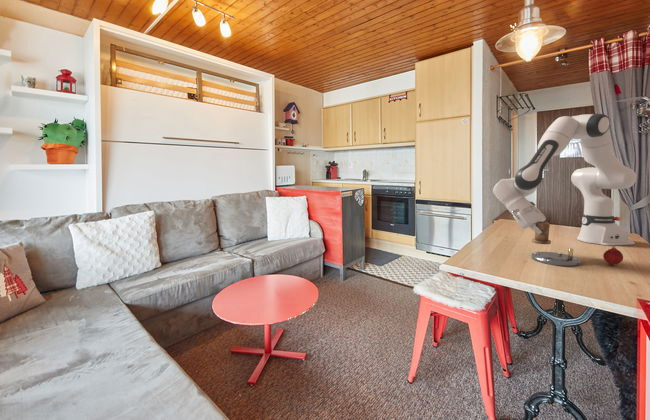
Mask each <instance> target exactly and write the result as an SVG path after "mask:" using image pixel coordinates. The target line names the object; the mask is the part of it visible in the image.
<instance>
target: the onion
mask: <svg viewBox="0 0 650 420" xmlns="http://www.w3.org/2000/svg"><path fill="white" fill-rule="evenodd" d="M602 255H603V259H604V261H605V263H607V264H608V265H610V266H612V267H613V266H615V265H618V264H620V263H622V261H623V260H624V255H623V253H622V252H621V250H618V249H617V248H616V246H615V245H612V247H611V248H609V249H607V250H606V251H604V252H603V254H602Z"/></svg>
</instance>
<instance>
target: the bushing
mask: <svg viewBox="0 0 650 420" xmlns="http://www.w3.org/2000/svg"><path fill="white" fill-rule="evenodd" d="M536 226H537V227H538V228H539V229H541V230H542V231H543V232H542V233H541V234H537V233H536V232H535V231H534V238H531V243H534V244H537V245H538V244H539V245H550V244H551V243H552V241H551V240H550V239H549V235H550V226H551V225H550V222H548V221H543V222H538V223H536Z"/></svg>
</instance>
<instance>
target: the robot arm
mask: <svg viewBox="0 0 650 420" xmlns="http://www.w3.org/2000/svg"><path fill="white" fill-rule="evenodd" d="M610 126H611V119H610V118H609V117H608V116H607V114H605V113H590V114H589V113H588V114H579V115H572V116H569V115H568V116H567V115H564V116H560V117H558V118H556V119H555V120H554V121H553V122H552V123H551V124H550V125H549V126H548V127H547V129H546V130H545V132H544V133H543V135H542V136H541V138H540V140H539V142H538V144H537V150H536V152H535V153H534V155H533V157H532V158H531V159H530V160H529V162H528V163H527V164H526V165H524V166H522V167H521V168H519V169H518V170H517V172H515V173H516V174H515V176H514V177H510V178H500V179H499V180H498V181H496V183H495V184H494V185H493V187H492V193H493V196H495V197H496V198H497V200H498V201H499V202H500V203H501V204H503V205H504V206H505V208H506V209H507V210H508V212H510V214H512V216H513V218H514V220H515V221H516V223H517V224H518V225H519V227H521V228H522V229H524V230H526V229H528V228H530V229H531V230H532V231H534V233H535V232H536V233H537V234H541V233H542V232H543V231H542V230H541V229H539V228H538V227H537V226H536V223H538V222H545V221H546V219H547V217H546V216H545V214H544V213H543V212H542V211H541V210H540V209H539V208H538V207H537V205H536V204H535V202H533V201H530V200H529V199H527V198H526V197H527V196H531V195H532V194H533V193H535V192H536V191H537V189H538V186H539V185H540V184H541V183H542V181H543V173H544V169H545V168H546V166H547V165H548V163H549V162H550V161H551V159H552V158H553V157H557V156H560V155H561V153H563V151H564V150H566V148H567V147H568V146H569V144H570V142H571V141H572V140H573V139H574V140H576V139H577V140H578V139H580V142H581V143H580V145H581V150H582V155H583V159H584V162H586V163H588V164H590V165H592V166H594V167H592V166H591V167H583V168H578V169H575V170H574V171H573V173H572V174H571V177H570V181H571V183H572V185H573V186H575V187H576V188H577V189H578V190H580V192H581V194H582V196H583V201H584V202H583V206H584V207H583V213H582V216H581V228H580V232H579V234H578V235H577V238H576V239H577V240H578V241H580V242H584V243H589V244H594V245H595V244H597V245H602V246H607V247H609V246H626V245H627V246H628V245H630V246H631V245H636V244H635V243H636V242H634V241H633V240H630V239H629V237H630V236H629V232H628V231H627V229H625V228H623V227H622V226H620V225H619V224H617V223H616V221H617V222H620V221H621V220H622V218H621V217H620V216H613V210H614V201H613V199H612V198H611V197H610V196H608V195H605V194H604V193H603V191H602V189H605V190H623V189H629V188H631V187H632V186H633V185H634V184H635V183H636V181H637V173H636V172H635V171H634V170H633V169H632V168H630V167H627V166H626V165H624V164H623V163H622V162H621V161H620V160H619V159H618V158H617V157H616V153H615V152H614V147H613V140H612V137H611V136H612V135H611V132H610Z"/></svg>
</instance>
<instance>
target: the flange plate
mask: <svg viewBox="0 0 650 420" xmlns="http://www.w3.org/2000/svg"><path fill="white" fill-rule="evenodd" d="M567 249H568V252H567V254H565V253H563V252H553V251H535V252H532V253H531V255H530V256H531V259H532V260H534V261H536V262H537V263H538V262H539V263H541V264H545V265H551V266H558V267H577V266H580V265H581V259H579V258H578V257H576V256H574V248H571V247H569V248H567Z"/></svg>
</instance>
